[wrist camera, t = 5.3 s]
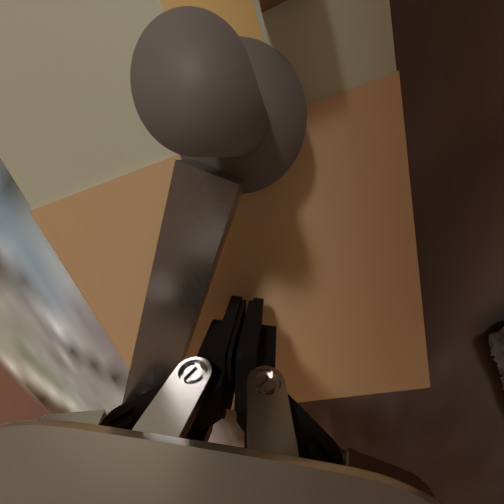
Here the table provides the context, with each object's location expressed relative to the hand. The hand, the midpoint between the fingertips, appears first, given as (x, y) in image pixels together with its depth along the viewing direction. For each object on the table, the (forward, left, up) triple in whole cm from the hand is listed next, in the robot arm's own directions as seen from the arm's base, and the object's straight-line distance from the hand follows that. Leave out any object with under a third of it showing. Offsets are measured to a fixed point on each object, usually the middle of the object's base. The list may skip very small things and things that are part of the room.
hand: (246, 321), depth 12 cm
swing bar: (-2, -2, +1) cm, 4 cm away
